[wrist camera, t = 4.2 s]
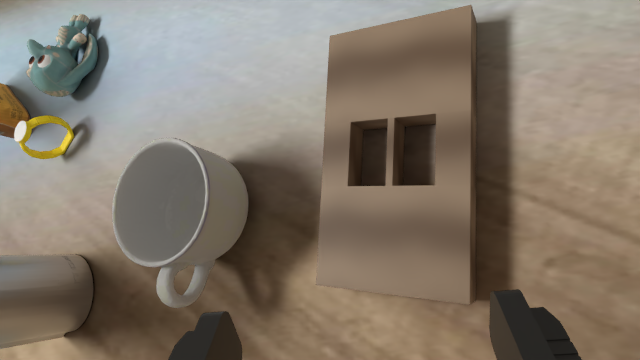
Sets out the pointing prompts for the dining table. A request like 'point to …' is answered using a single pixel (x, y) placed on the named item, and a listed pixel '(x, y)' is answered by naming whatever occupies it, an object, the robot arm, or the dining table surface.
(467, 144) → the rectangular block with slots
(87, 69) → the stuffed animal
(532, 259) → the dining table surface
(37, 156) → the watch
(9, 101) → the pancake mix bag
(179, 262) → the teacup
